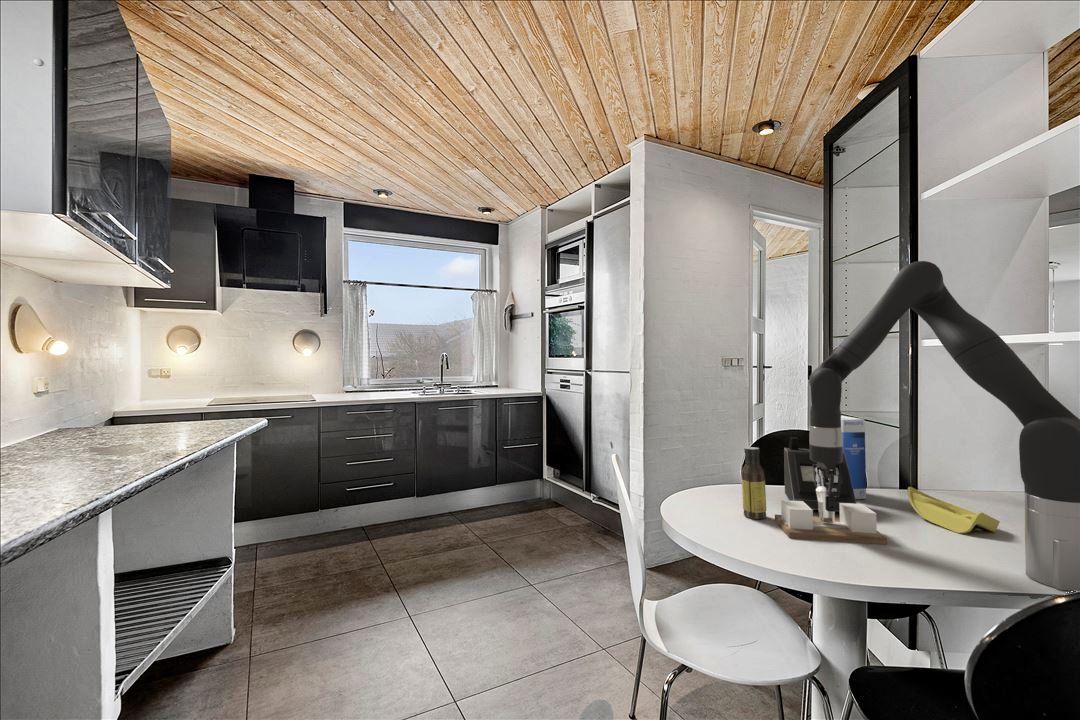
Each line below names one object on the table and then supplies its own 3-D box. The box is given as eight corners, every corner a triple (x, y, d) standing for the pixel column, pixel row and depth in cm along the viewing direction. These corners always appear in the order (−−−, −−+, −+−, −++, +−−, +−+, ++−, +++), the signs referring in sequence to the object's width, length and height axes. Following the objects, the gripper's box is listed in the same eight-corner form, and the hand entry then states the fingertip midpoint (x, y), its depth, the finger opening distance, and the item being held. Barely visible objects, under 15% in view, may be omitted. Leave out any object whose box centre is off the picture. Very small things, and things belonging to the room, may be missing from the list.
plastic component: (1004, 523, 123) (977, 509, 121) (992, 549, 123) (965, 536, 121) (929, 496, 142) (905, 484, 140) (919, 518, 142) (894, 506, 140)
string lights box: (867, 499, 152) (866, 419, 152) (844, 499, 152) (842, 419, 152) (840, 488, 166) (839, 414, 166) (819, 488, 165) (818, 414, 165)
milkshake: (830, 525, 122) (828, 486, 122) (813, 519, 127) (811, 482, 127) (844, 523, 123) (842, 484, 123) (826, 517, 128) (824, 480, 128)
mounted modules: (876, 533, 119) (876, 513, 119) (789, 528, 124) (789, 509, 124) (862, 522, 127) (862, 504, 127) (781, 518, 131) (781, 500, 131)
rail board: (887, 544, 116) (886, 536, 116) (789, 537, 121) (789, 530, 121) (861, 524, 130) (861, 517, 130) (774, 519, 135) (774, 513, 135)
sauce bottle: (769, 516, 138) (768, 447, 138) (761, 521, 133) (760, 450, 133) (747, 511, 142) (746, 445, 142) (738, 516, 138) (737, 448, 138)
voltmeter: (794, 512, 141) (793, 445, 140) (784, 497, 156) (784, 436, 156) (857, 518, 135) (856, 448, 135) (841, 501, 151) (840, 438, 151)
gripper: (853, 448, 117) (854, 517, 117) (831, 439, 131) (832, 500, 131) (819, 448, 119) (820, 515, 119) (801, 438, 133) (802, 499, 133)
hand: (826, 507), depth 125 cm, fingers open, 4 cm apart
